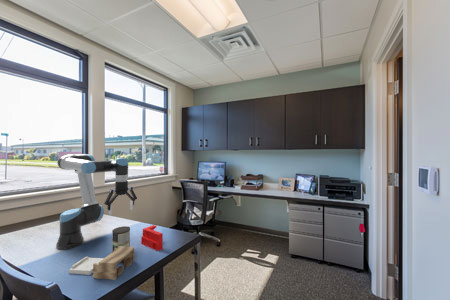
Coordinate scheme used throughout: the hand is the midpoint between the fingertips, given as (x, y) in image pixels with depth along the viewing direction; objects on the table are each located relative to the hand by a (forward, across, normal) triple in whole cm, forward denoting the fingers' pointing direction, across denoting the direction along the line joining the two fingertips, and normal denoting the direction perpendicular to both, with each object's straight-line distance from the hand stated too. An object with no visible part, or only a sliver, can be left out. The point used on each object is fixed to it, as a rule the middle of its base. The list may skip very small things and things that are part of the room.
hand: (121, 212), depth 133 cm
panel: (+24, -22, -10) cm, 34 cm away
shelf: (+23, -13, -23) cm, 35 cm away
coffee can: (+24, -2, -5) cm, 24 cm away
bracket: (+24, +17, -14) cm, 33 cm away
